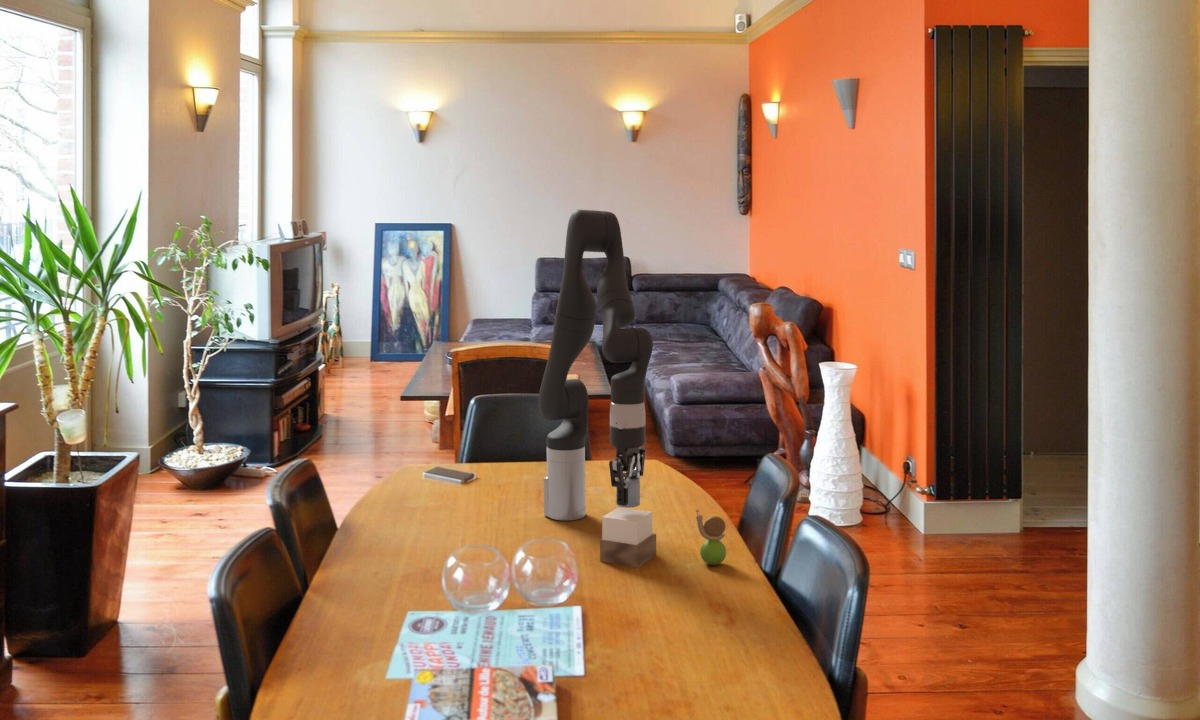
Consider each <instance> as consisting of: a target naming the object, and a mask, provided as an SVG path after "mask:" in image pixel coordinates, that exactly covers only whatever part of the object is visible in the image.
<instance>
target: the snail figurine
mask: <svg viewBox="0 0 1200 720" xmlns="http://www.w3.org/2000/svg"><path fill="white" fill-rule="evenodd" d="M695 512H696V516H695V520H696V521H697V522H696V523H697V527H698V531H699V534H700V535H701V536H702V538H704V539H705V541H704V542H703V543H702V544H701V547H700V548H699V549H700V551H699V554H700V557H701V559H702V560H703V562H704V563H705V564H707V565H709V566H716V565H719V564H721V563H722V562H723V561H724V560H725V559H726V556H727V548H726V545H725V544H724V543H723V542H722V541H721V540H722V539H724V538H725V536H726V534H725V530H726V522H725V521H724V519H723V518H722V517H720V516H710V517H708V518H707V519H706V520H705V522H703V518H704V517H703V516H702V514H698V513H699V509H697V508H696V509H695Z"/></svg>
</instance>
